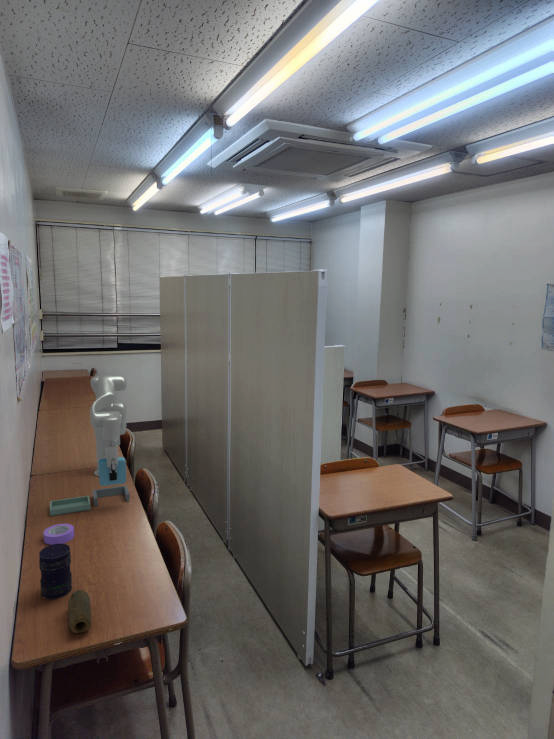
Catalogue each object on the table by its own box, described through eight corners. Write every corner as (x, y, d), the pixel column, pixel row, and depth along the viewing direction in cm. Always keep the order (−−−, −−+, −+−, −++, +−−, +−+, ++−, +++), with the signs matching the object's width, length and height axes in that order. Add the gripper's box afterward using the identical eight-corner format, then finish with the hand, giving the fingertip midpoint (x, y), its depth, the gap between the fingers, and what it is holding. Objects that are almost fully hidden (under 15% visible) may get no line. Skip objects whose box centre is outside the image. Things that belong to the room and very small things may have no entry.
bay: (92, 497, 239) (92, 489, 238) (126, 492, 246) (126, 485, 245) (94, 506, 229) (94, 498, 228) (129, 501, 236) (129, 493, 235)
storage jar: (40, 602, 157) (37, 561, 155) (41, 585, 166) (39, 546, 164) (72, 595, 161) (70, 555, 159) (72, 579, 170) (70, 541, 168)
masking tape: (39, 538, 199) (38, 529, 198) (67, 528, 207) (66, 520, 206) (50, 548, 191) (50, 539, 190) (79, 538, 199) (78, 529, 199)
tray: (50, 507, 227) (49, 501, 227) (89, 501, 234) (89, 495, 234) (49, 516, 218) (49, 510, 217) (90, 510, 225) (90, 504, 225)
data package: (125, 479, 230) (124, 456, 228) (126, 483, 226) (125, 459, 224) (99, 482, 225) (98, 459, 223) (99, 486, 221) (98, 462, 219)
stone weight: (65, 610, 154) (64, 591, 153) (88, 603, 157) (87, 585, 156) (70, 639, 141) (69, 619, 140) (95, 631, 144) (94, 612, 143)
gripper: (101, 437, 228) (102, 472, 231) (104, 448, 213) (106, 486, 216) (117, 435, 231) (118, 470, 234) (122, 446, 216) (123, 483, 219)
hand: (112, 477), depth 225 cm, fingers closed on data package, 4 cm apart
